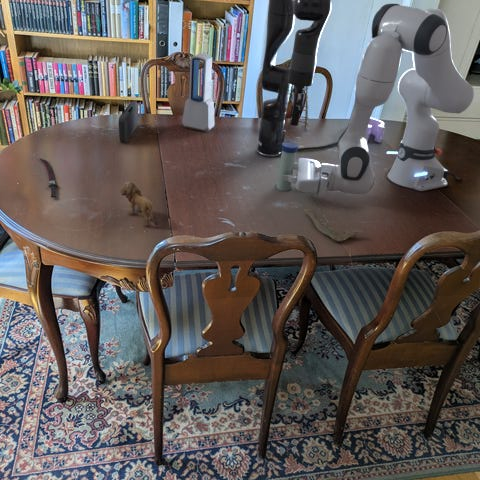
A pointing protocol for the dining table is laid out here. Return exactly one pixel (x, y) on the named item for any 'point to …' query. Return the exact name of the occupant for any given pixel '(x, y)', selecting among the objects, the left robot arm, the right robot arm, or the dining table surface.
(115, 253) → the dining table surface
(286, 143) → the lid
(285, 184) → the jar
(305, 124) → the miniature windmill
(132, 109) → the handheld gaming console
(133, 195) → the lion figurine
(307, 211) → the jawbone
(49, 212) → the dining table surface
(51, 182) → the sword
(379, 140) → the lavender notched block
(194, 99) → the electronic device
